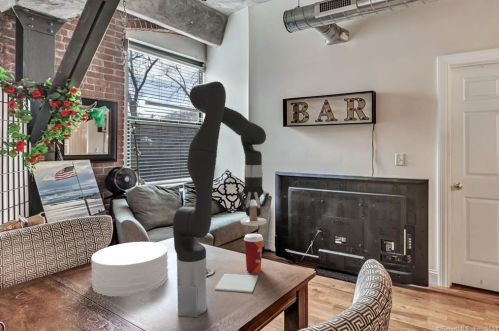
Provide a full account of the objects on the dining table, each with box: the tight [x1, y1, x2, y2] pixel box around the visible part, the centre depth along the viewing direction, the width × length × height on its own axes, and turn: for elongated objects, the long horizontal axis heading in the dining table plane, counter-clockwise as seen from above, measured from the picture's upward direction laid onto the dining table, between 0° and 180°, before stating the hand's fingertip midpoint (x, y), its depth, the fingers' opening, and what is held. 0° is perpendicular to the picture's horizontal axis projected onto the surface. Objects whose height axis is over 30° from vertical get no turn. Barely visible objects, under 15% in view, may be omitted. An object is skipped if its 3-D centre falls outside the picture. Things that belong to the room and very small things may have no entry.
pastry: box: [206, 265, 216, 277], centre depth 134 cm, size 12×12×5 cm
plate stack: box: [90, 241, 169, 298], centre depth 126 cm, size 28×28×12 cm
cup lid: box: [240, 204, 268, 227], centre depth 135 cm, size 11×11×7 cm
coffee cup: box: [243, 233, 264, 274], centre depth 136 cm, size 8×8×15 cm
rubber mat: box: [214, 273, 259, 294], centre depth 123 cm, size 14×14×1 cm
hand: (253, 216), depth 135 cm, fingers closed on cup lid, 3 cm apart
